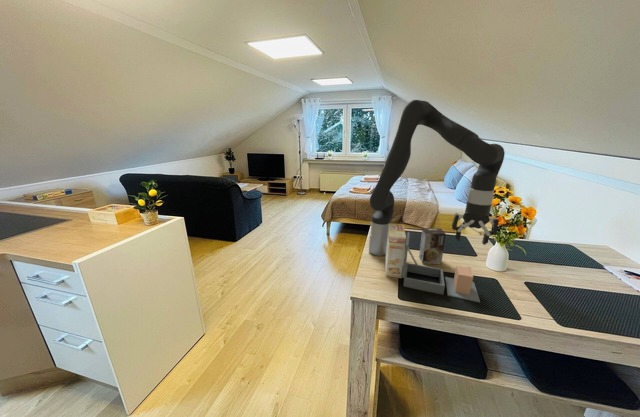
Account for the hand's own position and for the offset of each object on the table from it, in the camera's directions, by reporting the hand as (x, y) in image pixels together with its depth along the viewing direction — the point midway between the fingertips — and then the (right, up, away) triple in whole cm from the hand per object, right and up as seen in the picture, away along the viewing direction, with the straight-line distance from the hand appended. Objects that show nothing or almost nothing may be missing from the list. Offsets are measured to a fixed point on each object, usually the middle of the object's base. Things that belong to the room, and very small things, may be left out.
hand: (470, 241), depth 94 cm
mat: (0, -20, +7) cm, 21 cm away
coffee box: (-3, -13, +28) cm, 32 cm away
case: (-13, -18, +12) cm, 26 cm away
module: (0, -20, +6) cm, 21 cm away
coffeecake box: (-23, -16, +22) cm, 35 cm away
